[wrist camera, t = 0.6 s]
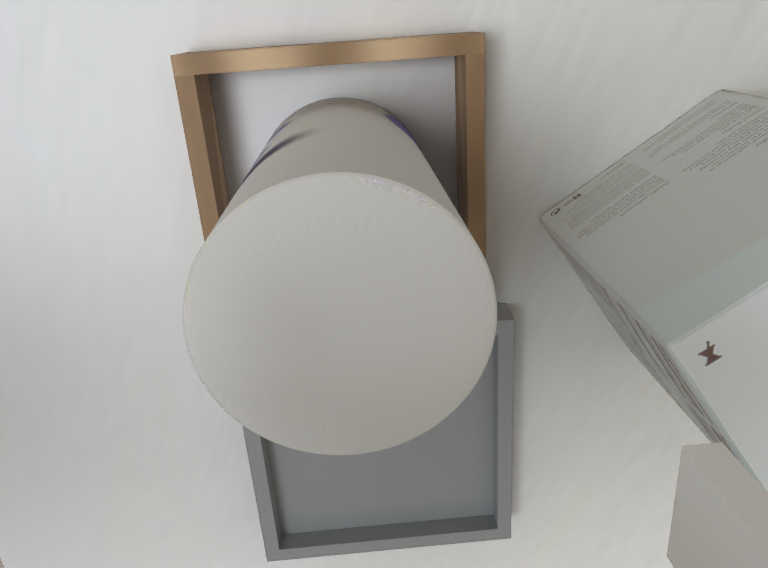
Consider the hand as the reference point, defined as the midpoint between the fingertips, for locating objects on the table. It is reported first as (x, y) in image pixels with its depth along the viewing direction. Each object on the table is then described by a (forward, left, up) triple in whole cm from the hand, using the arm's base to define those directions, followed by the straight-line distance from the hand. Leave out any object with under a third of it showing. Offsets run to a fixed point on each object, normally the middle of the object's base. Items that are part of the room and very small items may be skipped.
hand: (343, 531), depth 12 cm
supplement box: (+21, -5, -29) cm, 36 cm away
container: (0, 0, -29) cm, 29 cm away
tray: (+1, -18, -29) cm, 34 cm away
